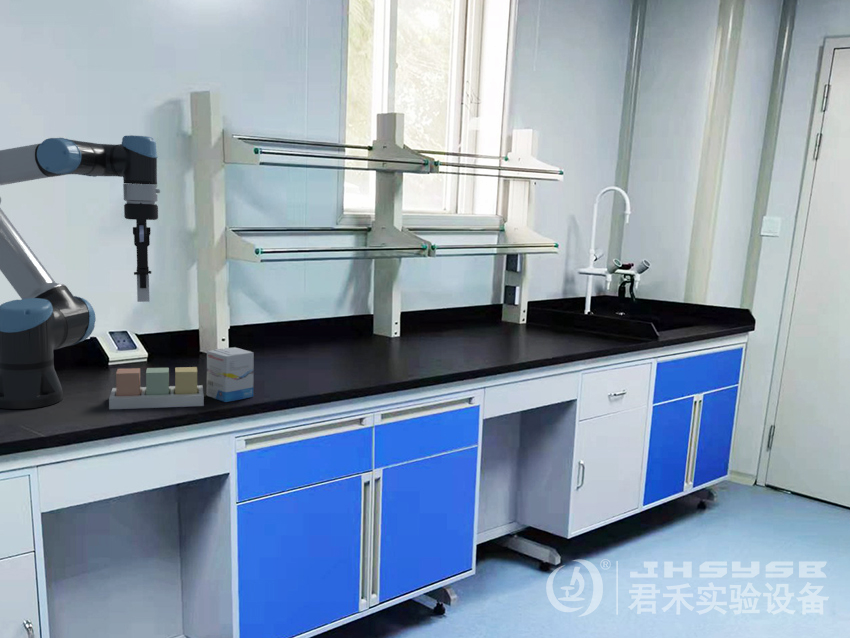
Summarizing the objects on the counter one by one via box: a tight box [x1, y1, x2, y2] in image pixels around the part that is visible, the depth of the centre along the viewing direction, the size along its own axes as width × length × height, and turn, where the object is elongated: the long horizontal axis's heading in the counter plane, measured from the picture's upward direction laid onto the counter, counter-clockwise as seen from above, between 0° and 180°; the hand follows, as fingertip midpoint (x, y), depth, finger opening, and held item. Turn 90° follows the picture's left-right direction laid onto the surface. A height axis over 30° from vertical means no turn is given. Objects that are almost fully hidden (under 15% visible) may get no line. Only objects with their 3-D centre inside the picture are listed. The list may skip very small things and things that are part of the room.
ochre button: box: [174, 366, 198, 394], centre depth 181 cm, size 5×5×6 cm
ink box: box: [206, 346, 255, 403], centre depth 187 cm, size 9×8×12 cm
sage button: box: [145, 367, 170, 395], centre depth 179 cm, size 5×5×6 cm
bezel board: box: [108, 384, 205, 410], centre depth 179 cm, size 21×10×2 cm, turn 108°
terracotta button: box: [115, 367, 141, 396], centre depth 177 cm, size 5×5×6 cm
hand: (143, 301), depth 181 cm, fingers closed
